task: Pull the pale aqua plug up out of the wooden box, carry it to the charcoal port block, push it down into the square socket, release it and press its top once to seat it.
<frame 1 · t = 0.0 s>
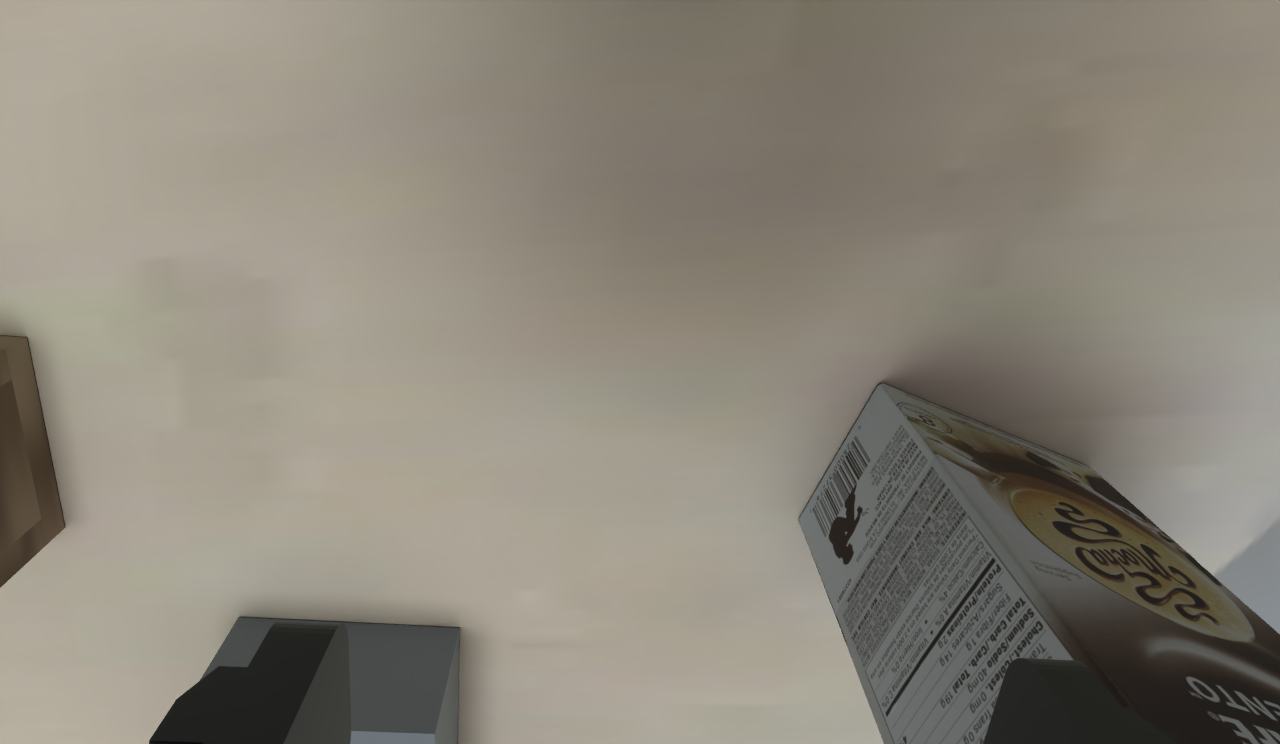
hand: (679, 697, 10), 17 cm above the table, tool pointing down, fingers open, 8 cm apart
coffee box: (940, 491, 29), on the table
port: (355, 724, 32), on the table
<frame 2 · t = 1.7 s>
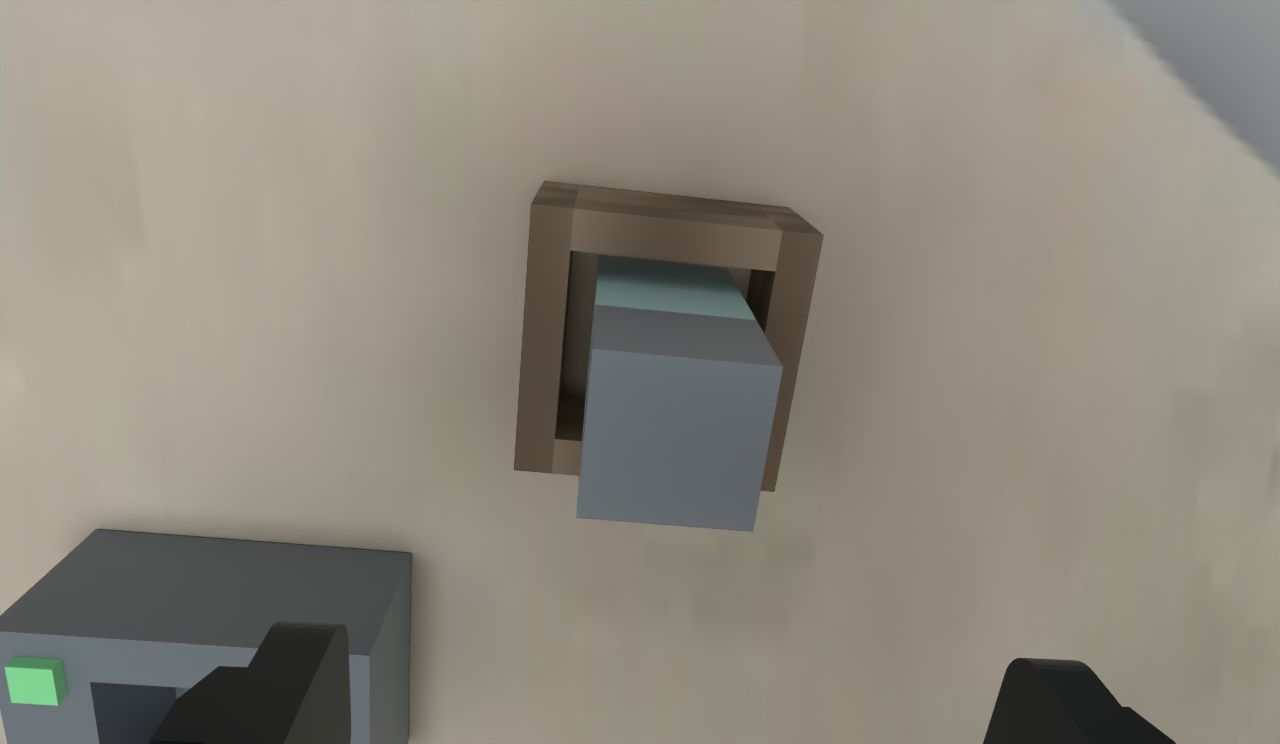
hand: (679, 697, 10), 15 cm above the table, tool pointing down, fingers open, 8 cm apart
plug: (655, 322, 23), point 1 cm above the table, touching wooden box
wooden box: (653, 312, 24), on the table
port: (261, 641, 28), on the table
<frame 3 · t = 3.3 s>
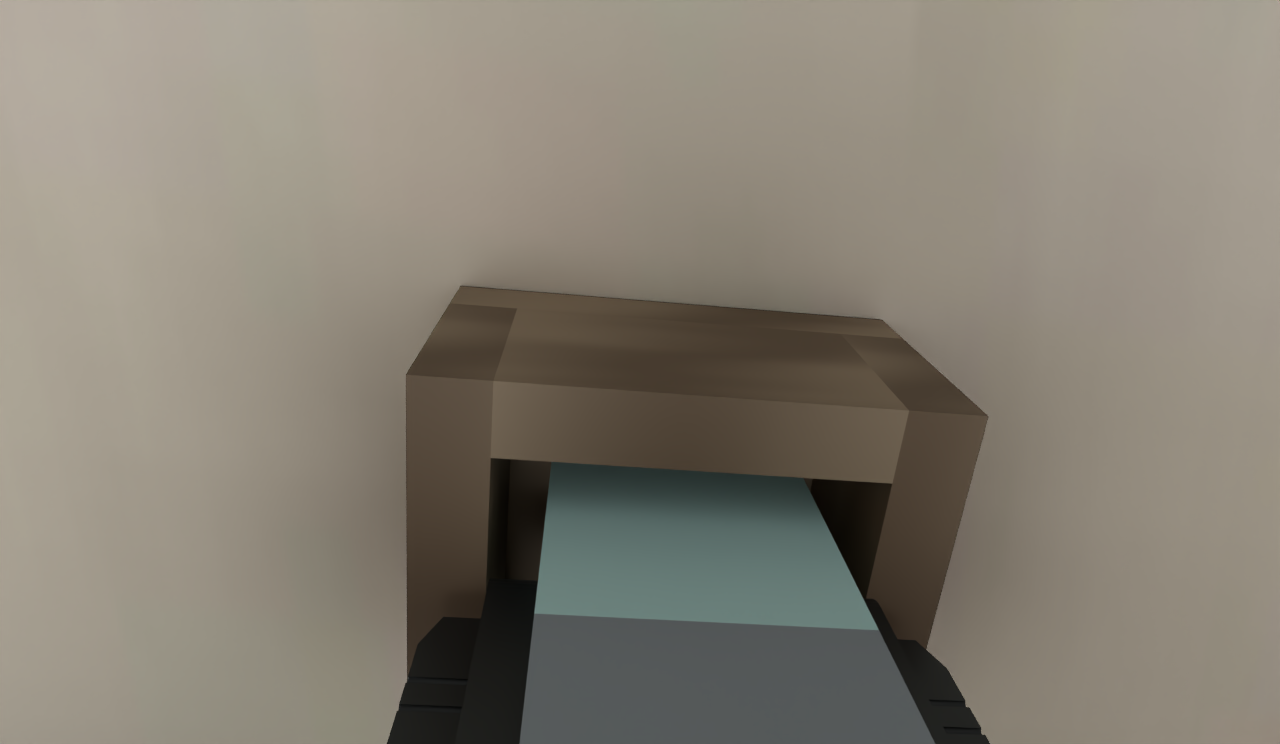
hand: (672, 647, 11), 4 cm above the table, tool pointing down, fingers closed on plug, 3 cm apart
plug: (657, 520, 14), point 1 cm above the table, touching gripper, wooden box
wooden box: (653, 490, 15), on the table
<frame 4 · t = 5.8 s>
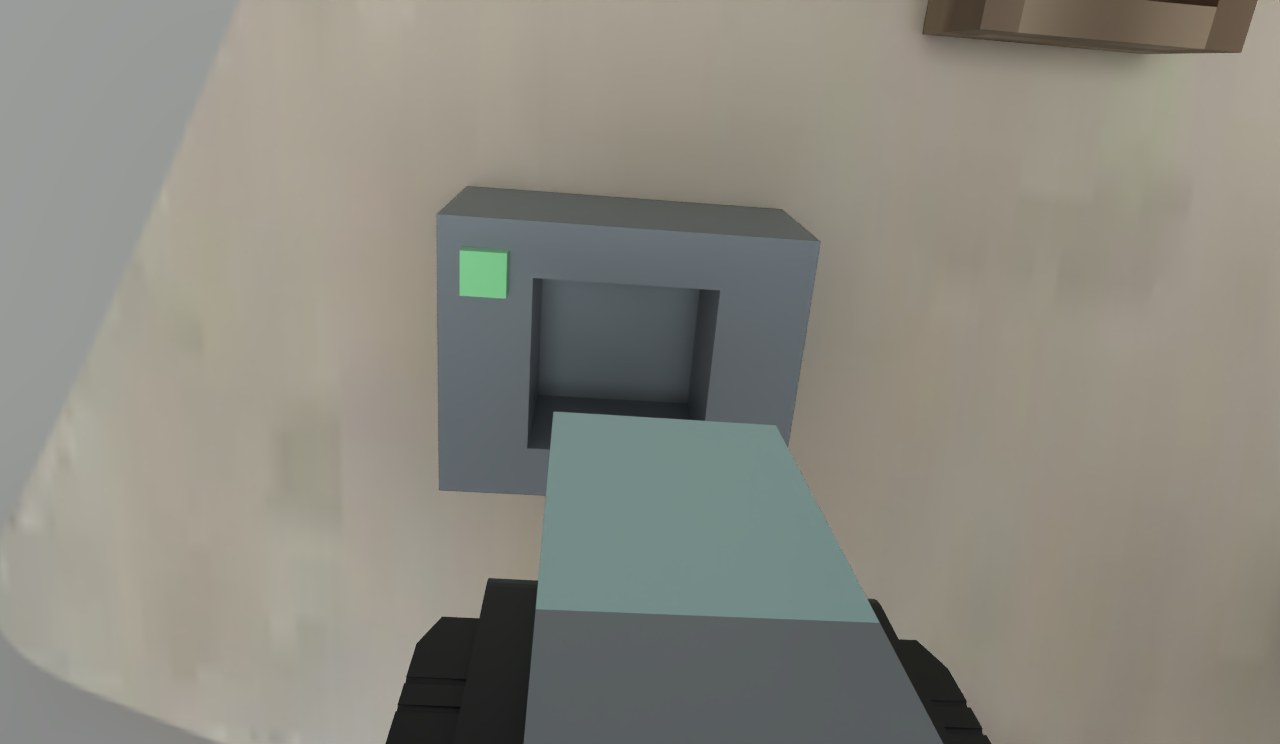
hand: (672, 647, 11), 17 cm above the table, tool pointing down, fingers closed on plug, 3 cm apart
plug: (654, 516, 14), point 14 cm above the table, touching gripper
port: (617, 318, 27), on the table
when the fingers open (5 cm above the table, at t = 8.1 s): plug stays where it is, resting on port.
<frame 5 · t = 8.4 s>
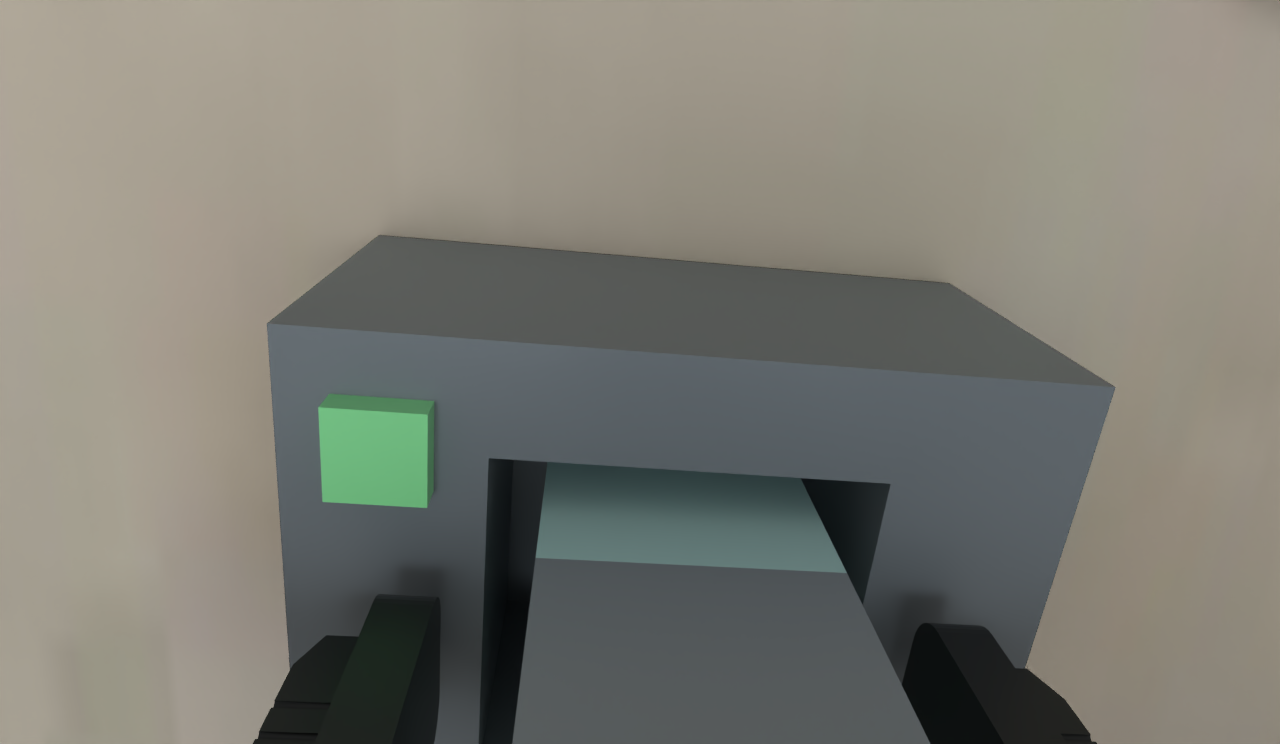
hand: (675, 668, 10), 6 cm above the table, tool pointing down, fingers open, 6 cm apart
plug: (651, 490, 15), point 1 cm above the table, touching port
port: (649, 465, 16), on the table
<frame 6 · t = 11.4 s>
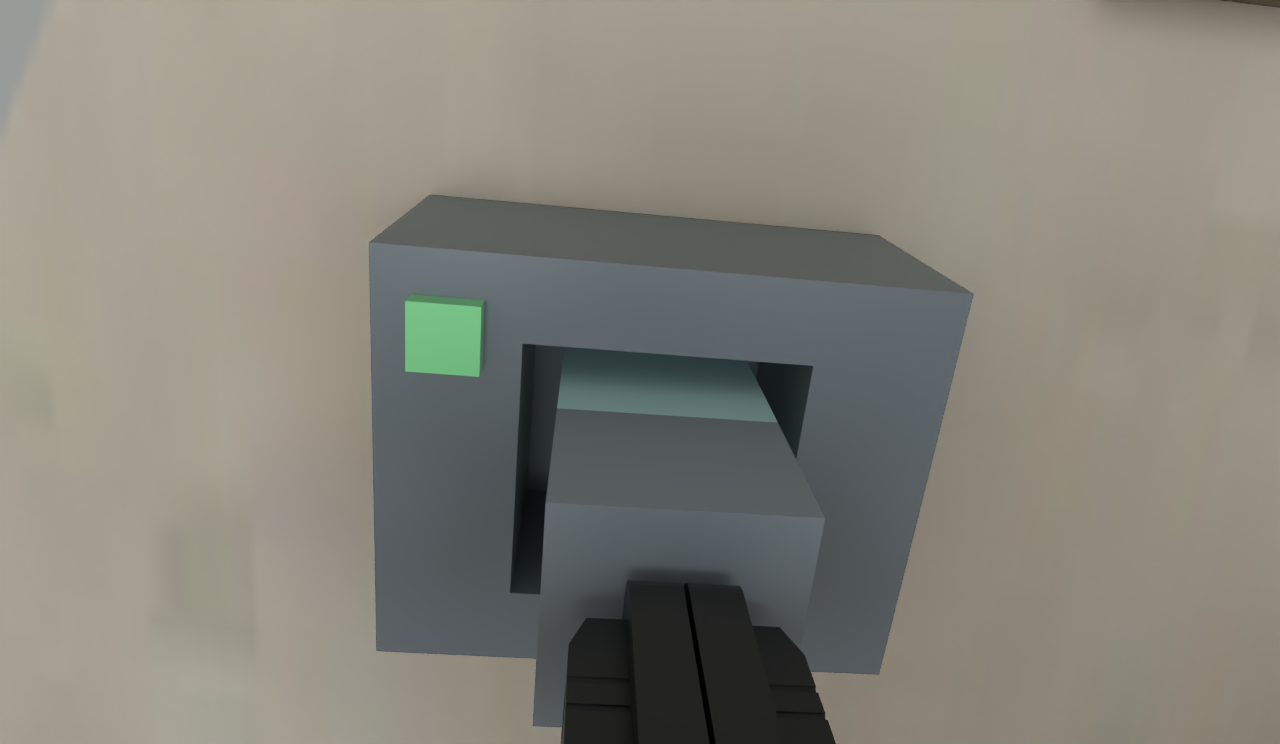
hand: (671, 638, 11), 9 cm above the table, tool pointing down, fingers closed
plug: (642, 398, 18), point 1 cm above the table, touching port
port: (641, 383, 19), on the table
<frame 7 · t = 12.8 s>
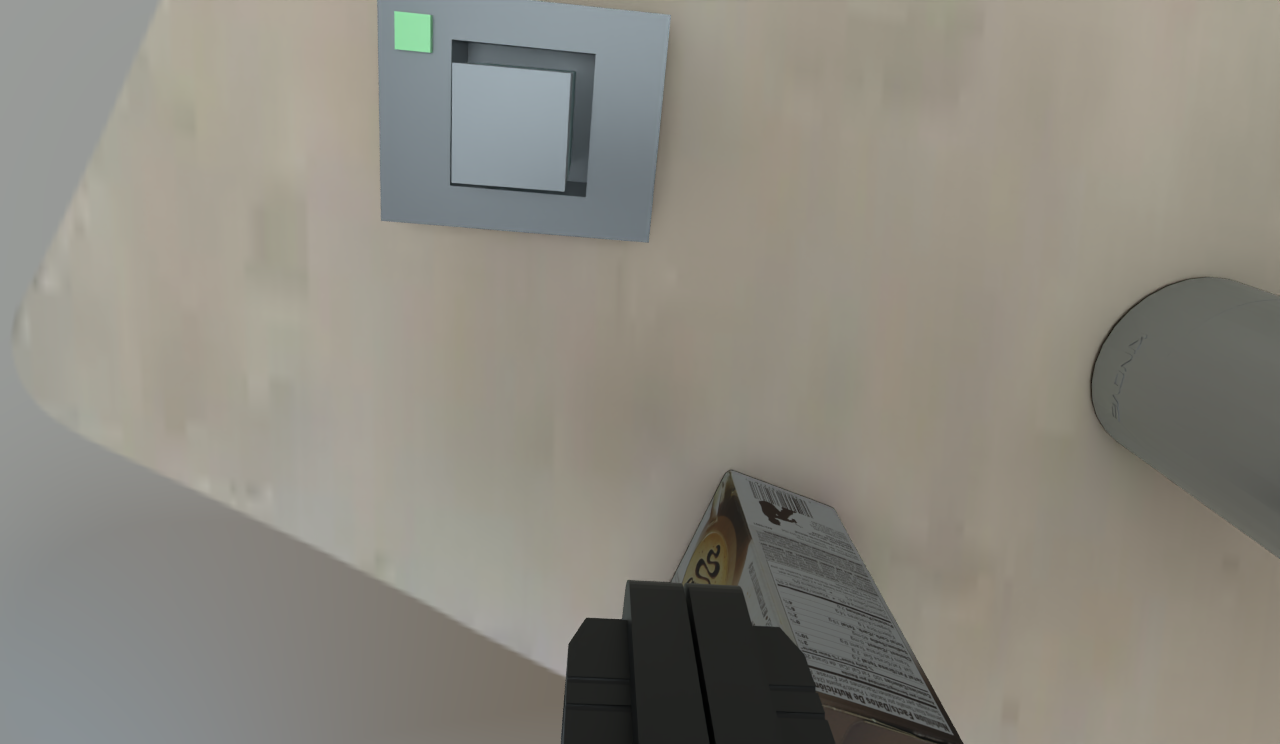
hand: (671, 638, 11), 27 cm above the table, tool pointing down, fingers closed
plug: (528, 114, 33), point 1 cm above the table, touching port
coffee box: (744, 555, 42), on the table
port: (531, 113, 34), on the table
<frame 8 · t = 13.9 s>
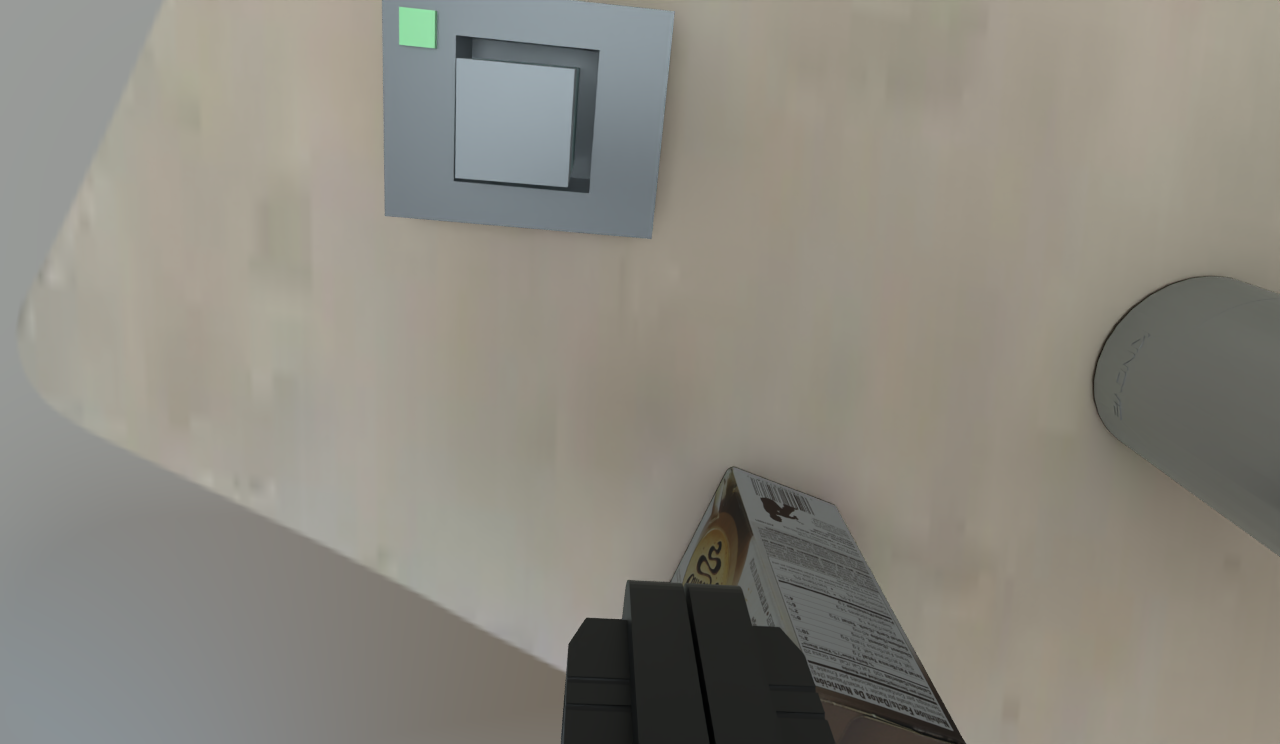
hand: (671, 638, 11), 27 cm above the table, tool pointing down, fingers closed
plug: (532, 110, 33), point 1 cm above the table, touching port
coffee box: (745, 552, 43), on the table
port: (534, 109, 34), on the table
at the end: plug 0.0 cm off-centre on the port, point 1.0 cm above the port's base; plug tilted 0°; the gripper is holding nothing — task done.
